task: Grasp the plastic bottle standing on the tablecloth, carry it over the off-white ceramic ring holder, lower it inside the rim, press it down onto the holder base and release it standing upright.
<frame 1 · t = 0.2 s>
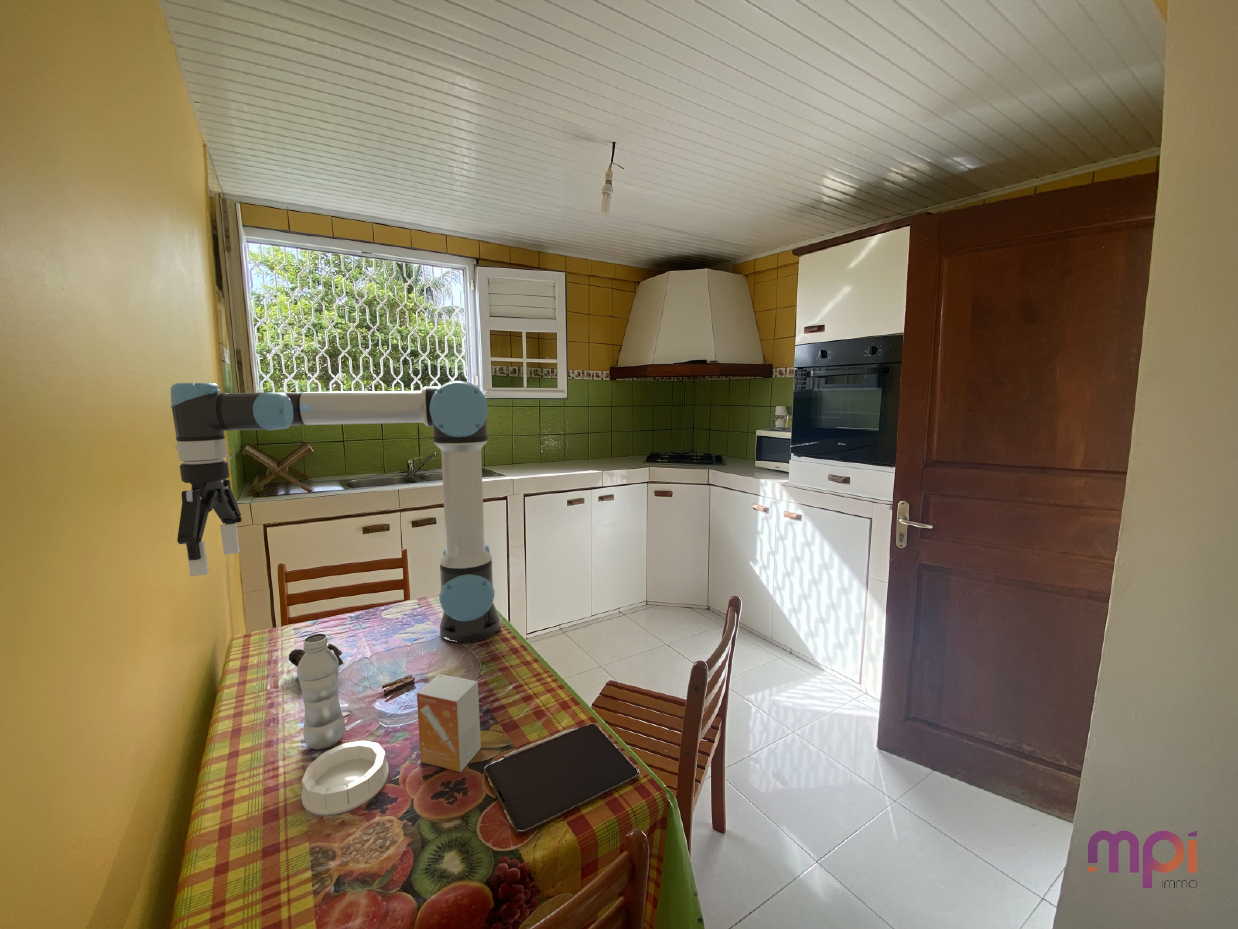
hand: (216, 563, 104), 28 cm above the table, fingers open, 13 cm apart
plastic bottle: (325, 743, 92), on the table
pottery mug: (317, 676, 114), on the table
small box: (451, 756, 88), on the table
ring holder: (346, 784, 82), on the table
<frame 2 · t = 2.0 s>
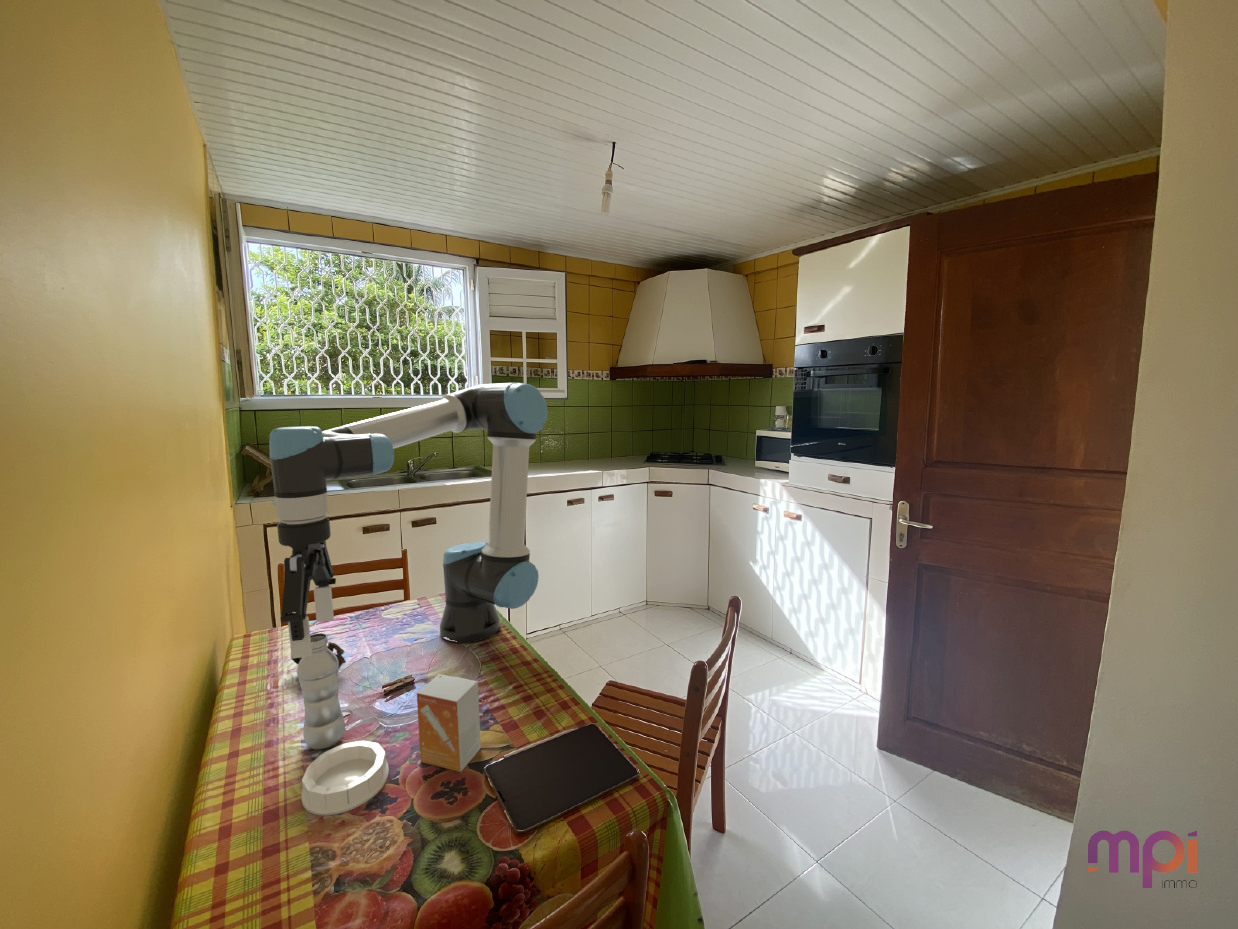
hand: (314, 637, 89), 20 cm above the table, fingers open, 13 cm apart
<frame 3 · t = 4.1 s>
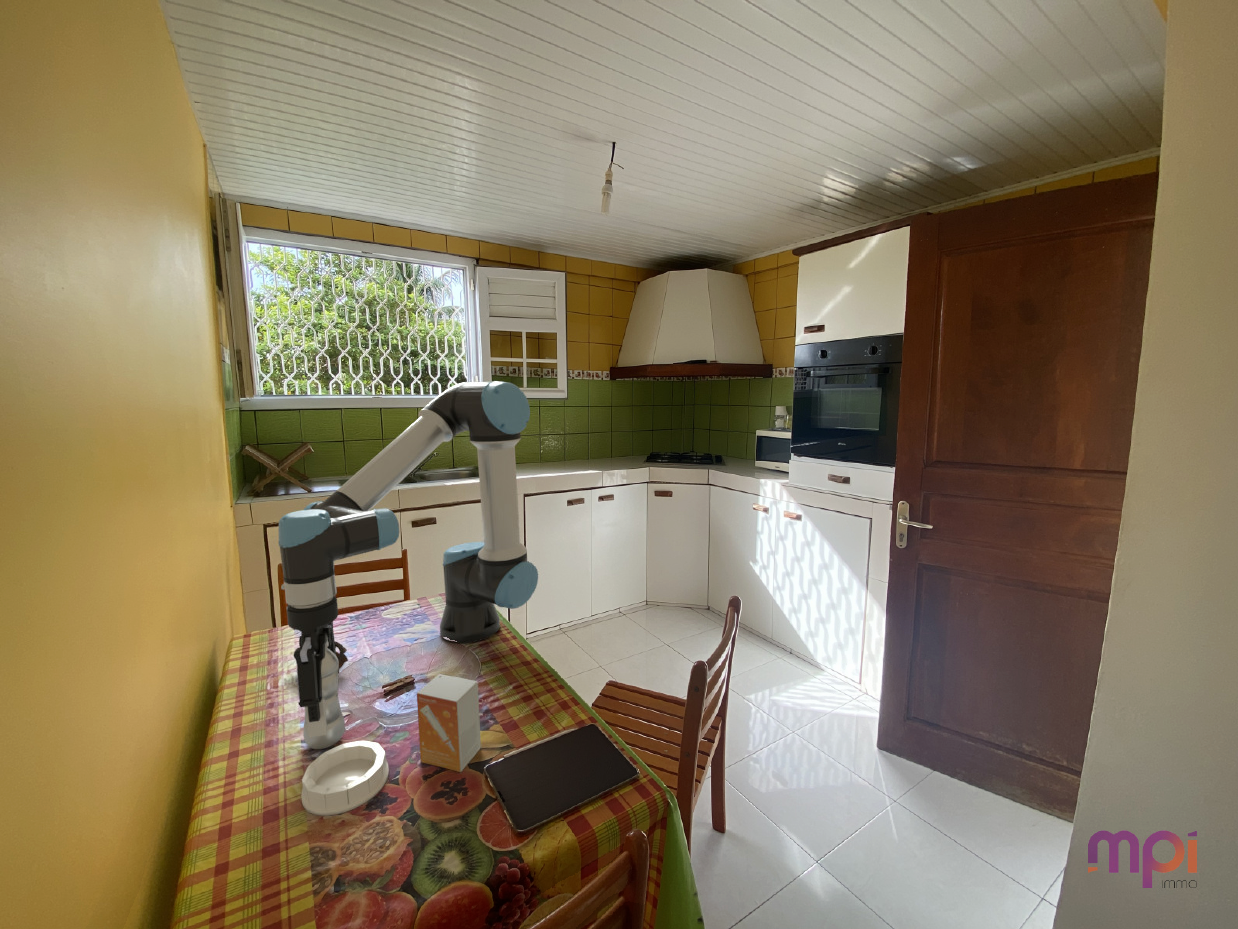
hand: (323, 722, 91), 4 cm above the table, fingers closed on plastic bottle, 6 cm apart
plastic bottle: (325, 743, 92), on the table, touching gripper
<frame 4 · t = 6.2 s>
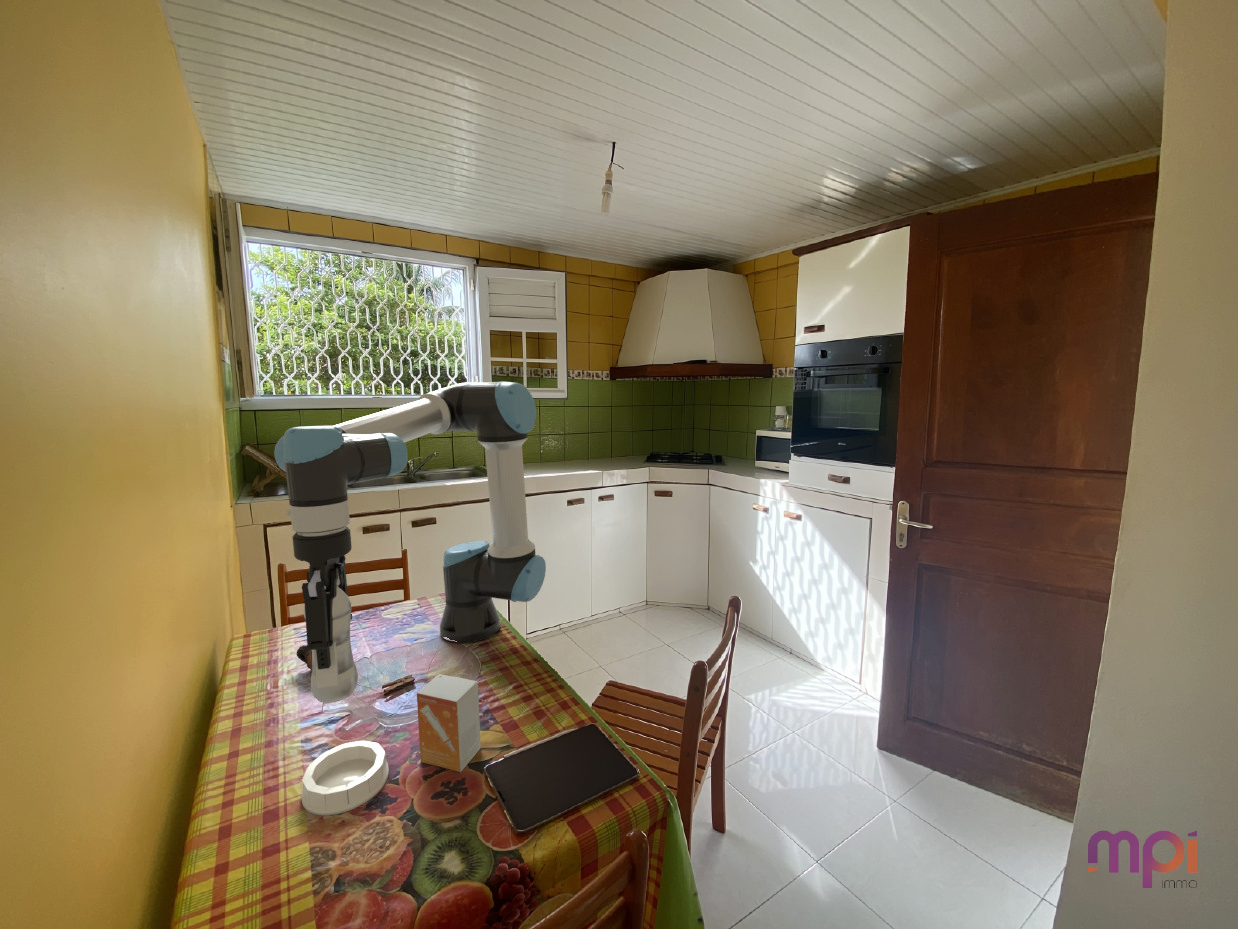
hand: (334, 672, 79), 19 cm above the table, fingers closed on plastic bottle, 6 cm apart
plastic bottle: (336, 697, 80), point 15 cm above the table, touching gripper
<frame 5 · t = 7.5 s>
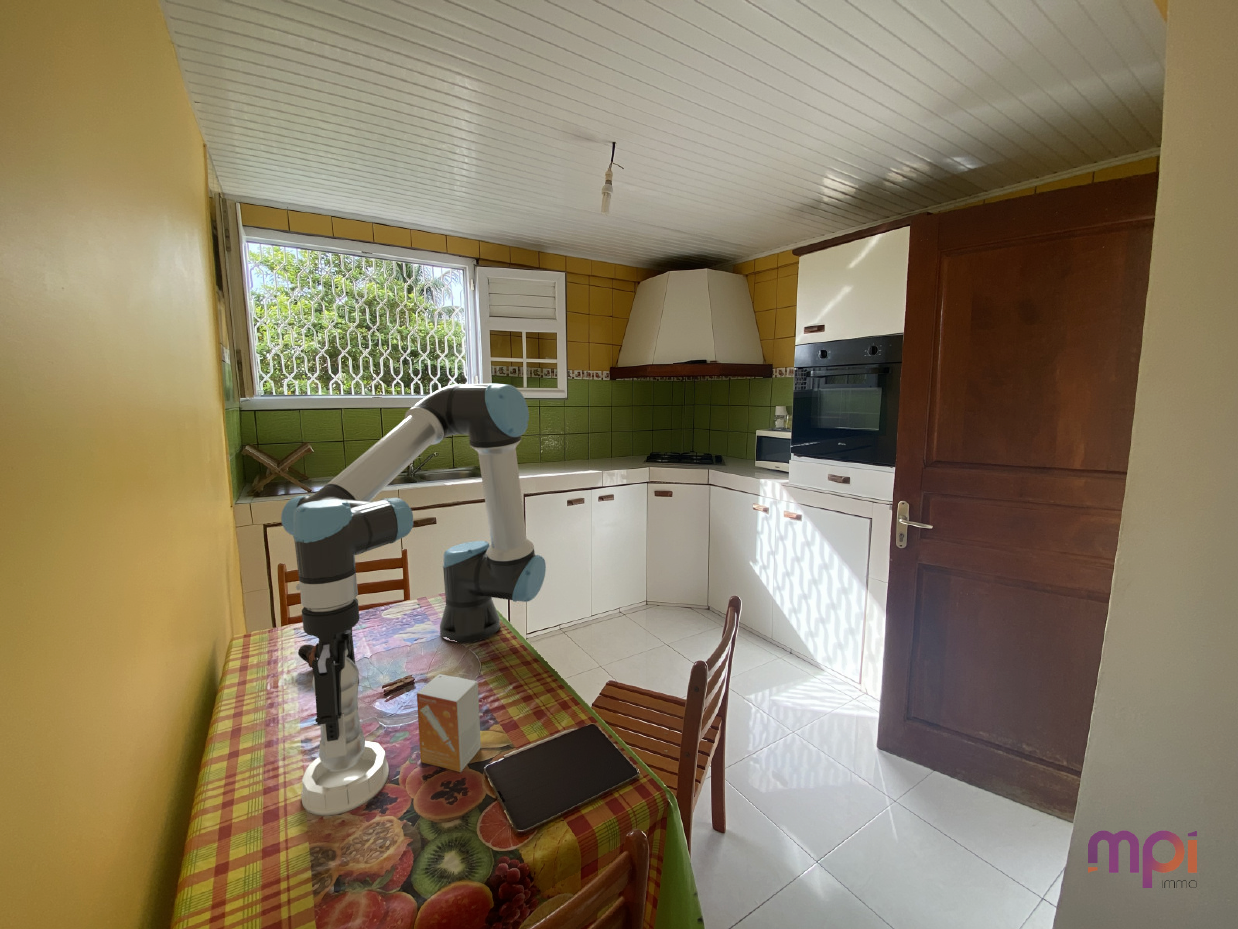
hand: (342, 740, 81), 8 cm above the table, fingers closed on plastic bottle, 6 cm apart
plastic bottle: (343, 763, 81), point 4 cm above the table, touching gripper
when the fingers open (6 cm above the table, at t = 8.3 s): plastic bottle stays where it is, resting on ring holder.
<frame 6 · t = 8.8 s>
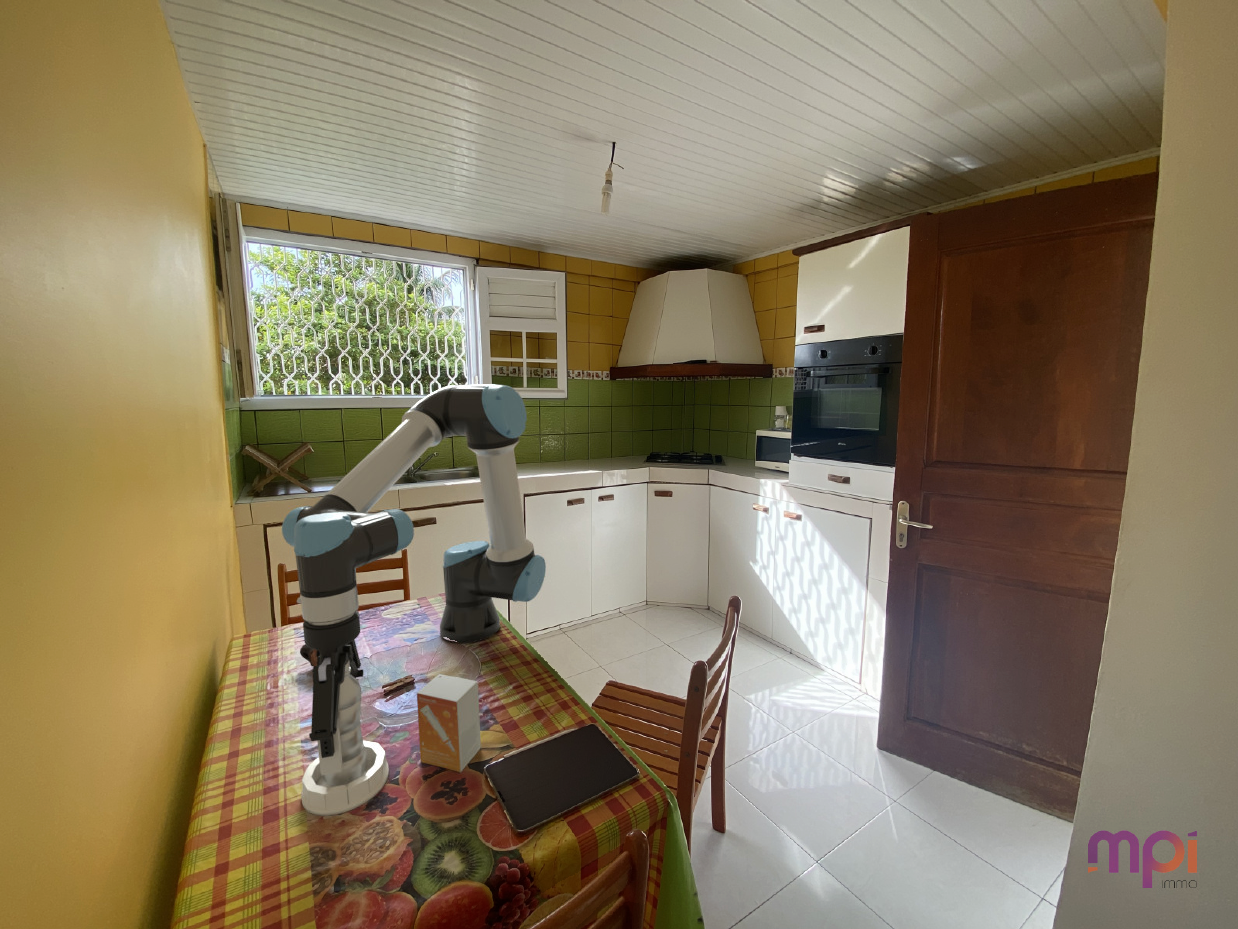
hand: (342, 742, 81), 7 cm above the table, fingers open, 13 cm apart
plastic bottle: (346, 779, 82), point 1 cm above the table, touching ring holder
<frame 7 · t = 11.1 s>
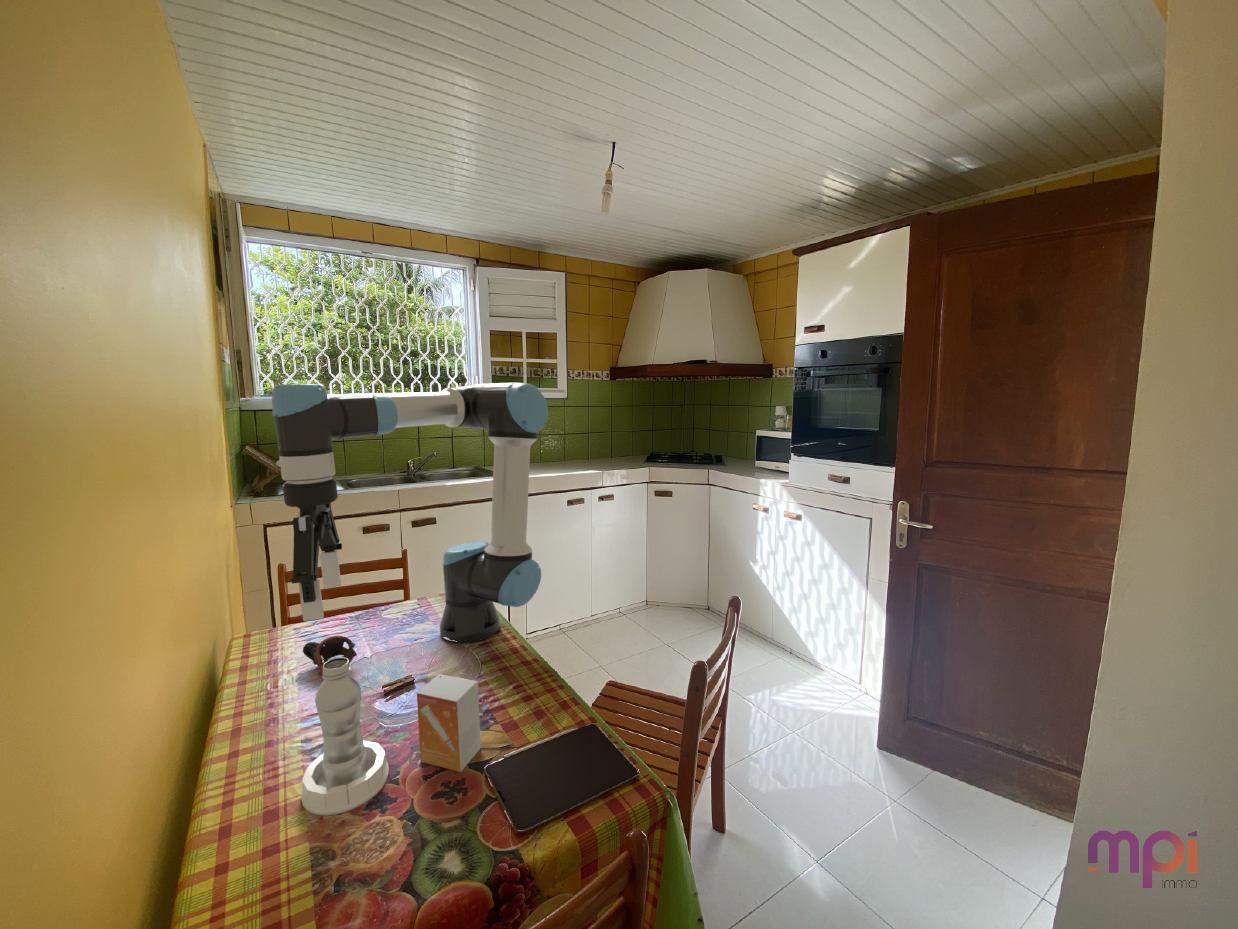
hand: (323, 601, 87), 27 cm above the table, fingers open, 13 cm apart
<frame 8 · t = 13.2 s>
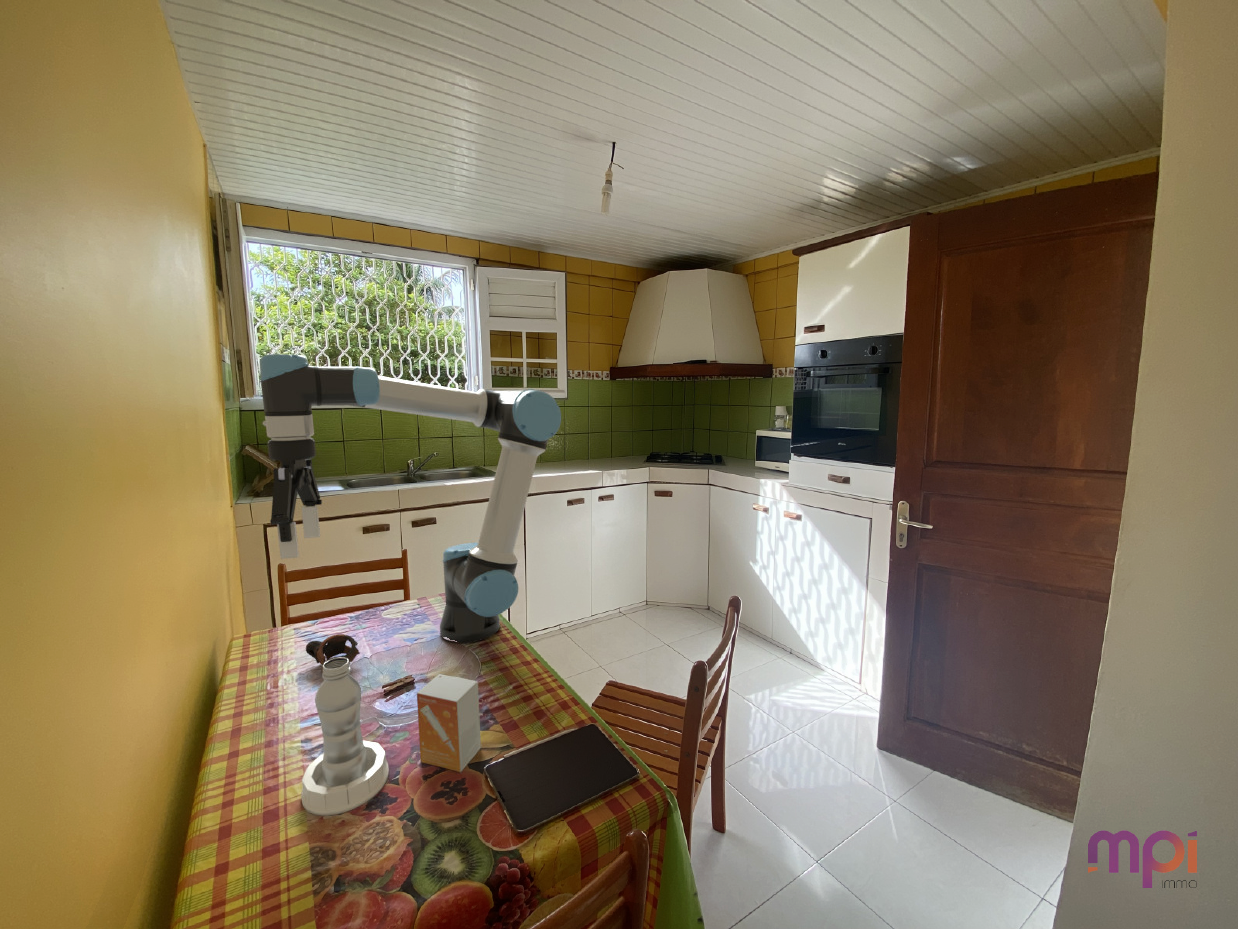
hand: (301, 547, 99), 33 cm above the table, fingers open, 13 cm apart
at the end: plastic bottle 0.1 cm off-centre on the ring holder, point 0.6 cm above the ring holder's base; plastic bottle tilted 0°; the gripper is holding nothing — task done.
